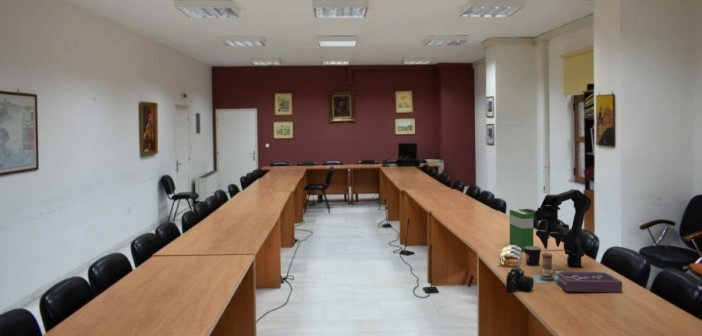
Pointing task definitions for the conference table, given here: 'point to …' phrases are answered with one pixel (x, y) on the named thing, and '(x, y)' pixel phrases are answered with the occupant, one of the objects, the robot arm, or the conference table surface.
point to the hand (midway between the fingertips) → (552, 247)
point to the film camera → (518, 281)
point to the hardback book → (521, 229)
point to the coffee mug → (532, 255)
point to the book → (588, 281)
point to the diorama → (510, 253)
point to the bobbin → (547, 267)
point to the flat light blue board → (538, 280)
